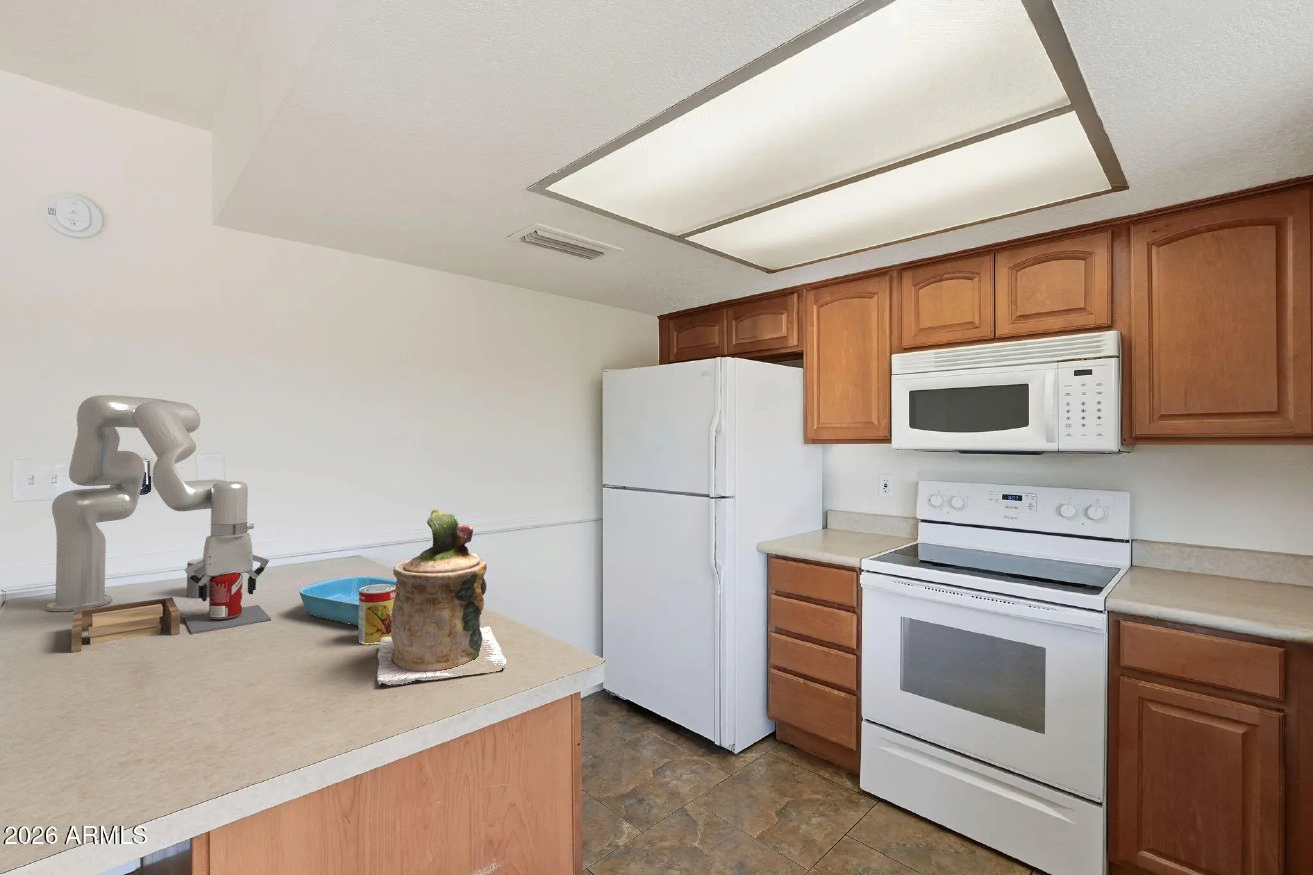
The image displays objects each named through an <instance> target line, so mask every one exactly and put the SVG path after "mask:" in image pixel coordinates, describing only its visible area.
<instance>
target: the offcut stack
mask: <svg viewBox="0 0 1313 875" xmlns="http://www.w3.org/2000/svg"><path fill="white" fill-rule="evenodd" d="M160 616H163V607H162V605H161V604H158V605H152V606H145V607H138V608H131V609H124V610H117V611H110V612H103V613H96V614H92V623H91V624H88V631H87V633H88V636H87V637H88V638H89V644H92V645H96V644H102V643H101V642H104V643H109V642H114V641H113V640H115V641H120V639H121V640H124V639H123V638H127V639H132V638H131V637H133V638H136V637H135V636H139V637H145V636H148V635H155V634H156V635H157V634H161V633H162V629H161V628H162V623H161V622H160V620H159V619H160ZM108 641H109V642H108Z"/></svg>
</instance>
